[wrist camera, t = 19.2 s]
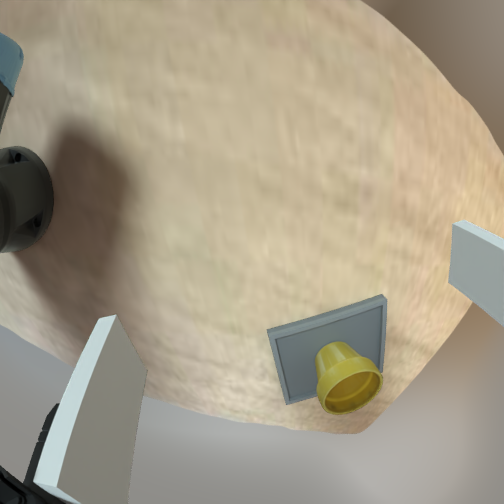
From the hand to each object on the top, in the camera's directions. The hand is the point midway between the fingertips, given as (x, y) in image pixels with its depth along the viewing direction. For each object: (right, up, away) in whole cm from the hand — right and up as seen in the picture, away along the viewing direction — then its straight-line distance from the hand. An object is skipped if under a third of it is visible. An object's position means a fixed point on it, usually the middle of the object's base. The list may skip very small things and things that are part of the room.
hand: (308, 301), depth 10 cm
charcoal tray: (+12, -16, +39) cm, 44 cm away
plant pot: (+12, -16, +38) cm, 43 cm away
